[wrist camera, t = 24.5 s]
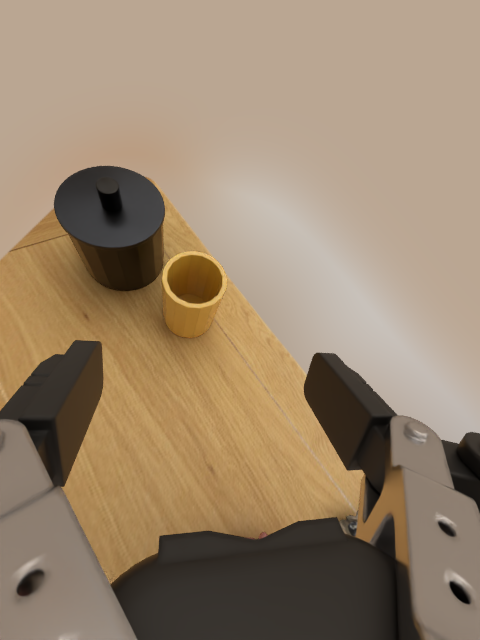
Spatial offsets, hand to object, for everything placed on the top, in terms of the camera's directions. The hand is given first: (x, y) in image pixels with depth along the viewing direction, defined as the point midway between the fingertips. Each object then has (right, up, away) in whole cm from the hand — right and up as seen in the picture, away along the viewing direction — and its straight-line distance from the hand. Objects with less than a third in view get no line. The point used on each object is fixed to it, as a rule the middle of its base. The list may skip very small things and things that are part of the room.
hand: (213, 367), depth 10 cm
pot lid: (-12, +14, +18) cm, 26 cm away
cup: (-6, +3, +26) cm, 27 cm away
